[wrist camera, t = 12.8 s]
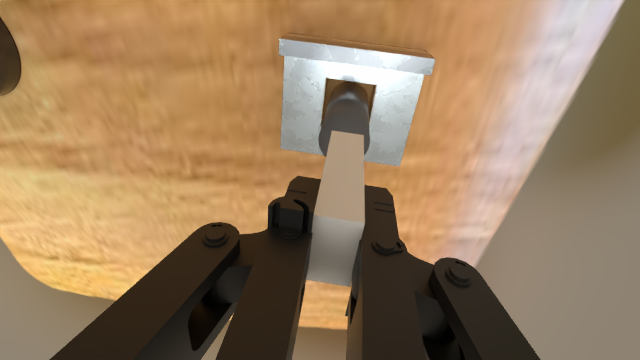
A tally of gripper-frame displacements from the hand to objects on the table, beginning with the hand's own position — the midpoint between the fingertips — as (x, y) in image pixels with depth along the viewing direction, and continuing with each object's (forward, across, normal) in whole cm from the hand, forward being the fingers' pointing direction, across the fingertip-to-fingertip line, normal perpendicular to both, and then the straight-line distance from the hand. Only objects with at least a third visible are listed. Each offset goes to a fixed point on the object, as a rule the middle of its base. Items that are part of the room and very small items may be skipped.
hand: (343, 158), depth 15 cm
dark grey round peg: (+26, 0, -5) cm, 27 cm away
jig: (+26, 0, -5) cm, 27 cm away
